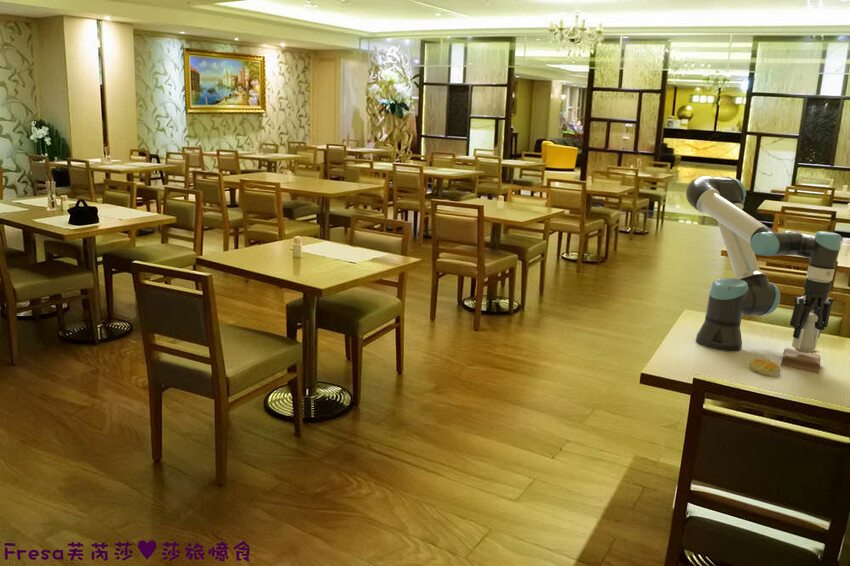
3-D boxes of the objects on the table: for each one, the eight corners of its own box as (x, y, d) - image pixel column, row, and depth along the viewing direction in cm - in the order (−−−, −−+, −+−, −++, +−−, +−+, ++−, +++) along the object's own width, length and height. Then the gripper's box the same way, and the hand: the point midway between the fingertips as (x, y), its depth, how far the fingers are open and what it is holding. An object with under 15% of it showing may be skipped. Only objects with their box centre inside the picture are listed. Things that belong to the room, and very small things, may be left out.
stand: (818, 373, 227) (820, 363, 226) (780, 365, 232) (783, 355, 231) (818, 364, 236) (820, 354, 236) (782, 356, 241) (784, 347, 241)
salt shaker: (811, 355, 229) (820, 317, 226) (792, 351, 232) (800, 313, 229) (813, 351, 234) (821, 313, 231) (794, 346, 237) (802, 310, 234)
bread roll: (758, 365, 231) (761, 354, 230) (783, 375, 223) (786, 363, 222) (742, 368, 227) (745, 356, 226) (767, 378, 219) (770, 366, 218)
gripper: (804, 282, 221) (789, 351, 227) (851, 283, 226) (835, 350, 232) (786, 276, 228) (772, 343, 234) (832, 277, 233) (817, 343, 239)
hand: (803, 347), depth 233 cm, fingers closed on salt shaker, 6 cm apart
